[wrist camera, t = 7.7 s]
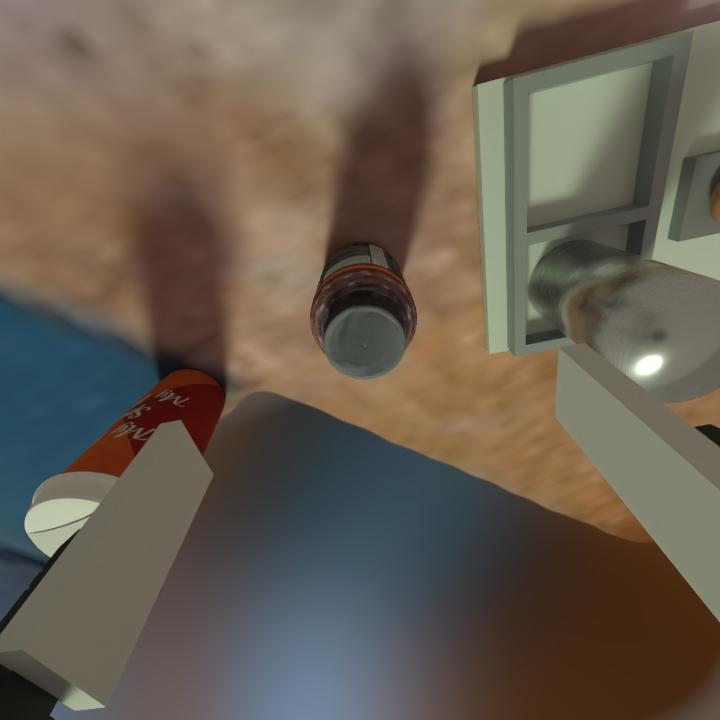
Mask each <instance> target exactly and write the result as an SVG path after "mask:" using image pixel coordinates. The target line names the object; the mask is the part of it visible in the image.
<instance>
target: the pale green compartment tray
mask: <svg viewBox="0 0 720 720" xmlns="http://www.w3.org/2000/svg"><path fill="white" fill-rule="evenodd" d="M472 90H473V110H474V130H475V150H476V169H477V189H478V209H479V229H480V249H481V268H482V288H483V308H484V328H485V348H486V350H487V351H488V353H489V354H493V353H498V352H503V351H509V350H510V351H511V352H512V354H513V355H514V356H519V355H524V354H529V353H535V352H540V351H545V350H550V349H556V348H561V347H566V346H571V345H576V343H575V342H573V341H572V340H571V339H570V338H568V337H567V336H566V335H565V334H563V333H562V332H561V331H560V330H558V329H557V328H556V327H555V326H553V325H552V324H551V323H550V322H548V321H547V320H546V319H545V318H543V317H542V316H541V315H540V314H538V313H537V312H536V311H535V310H534V309H533V307H532V306H531V304H530V301H529V298H528V284H529V279H530V276H531V274H532V272H533V270H534V268H535V267H536V265H537V264H538V262H539V261H540V260H541V259H542V258H543V257H544V256H545V255H546V254H547V253H548V252H549V251H551V250H552V249H553V248H555V247H557V246H559V245H560V244H563V243H565V242H568V241H572V240H578V239H585V240H591V241H594V242H598V243H601V244H604V245H607V246H610V247H614V248H617V249H620V250H623V251H627V252H630V253H633V254H636V255H639V256H643V257H646V258H649V259H652V260H655V261H659V262H662V263H665V264H668V265H672V266H675V267H678V268H681V269H684V270H688V271H691V272H694V273H697V274H700V275H704V276H707V277H710V278H713V279H716V280H720V224H719V223H717V222H716V221H714V220H713V219H712V217H711V215H710V212H709V204H710V199H711V196H712V194H713V191H714V190H715V188H716V186H717V185H718V183H719V182H720V20H719V21H715V22H712V23H708V24H704V25H700V26H696V27H693V28H689V29H685V30H681V31H678V32H674V33H670V34H666V35H663V36H659V37H655V38H651V39H647V40H644V41H640V42H636V43H632V44H629V45H625V46H621V47H617V48H613V49H610V50H606V51H602V52H598V53H595V54H591V55H587V56H583V57H580V58H576V59H572V60H568V61H564V62H561V63H557V64H553V65H549V66H546V67H542V68H538V69H534V70H530V71H527V72H523V73H519V74H515V75H512V76H508V77H504V78H500V79H497V80H493V81H489V82H485V83H481V84H478V85H476V86H475V87H473V88H472Z"/></svg>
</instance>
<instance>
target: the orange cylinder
mask: <svg viewBox="0 0 720 720" xmlns="http://www.w3.org/2000/svg"><path fill="white" fill-rule="evenodd" d="M709 212H710V215H711V217H712V219H713V220H714V221H716V222H717V223H719V224H720V182H719V183H718V185H717V186H716V188H715V190H714V191H713V194H712V196H711V199H710V204H709Z"/></svg>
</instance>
